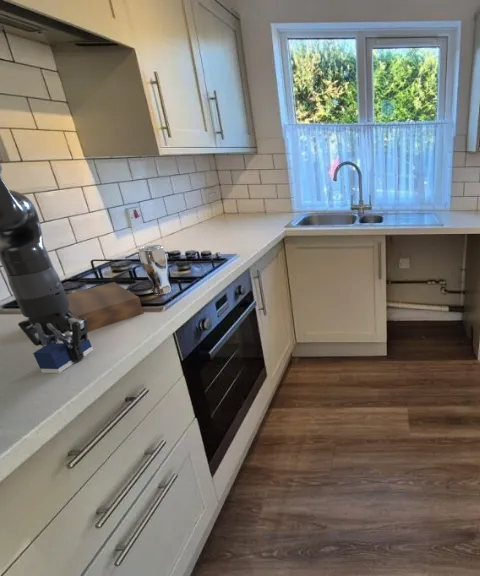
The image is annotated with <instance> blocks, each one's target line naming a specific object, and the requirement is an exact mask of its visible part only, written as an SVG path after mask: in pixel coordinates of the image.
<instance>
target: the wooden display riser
mask: <svg viewBox="0 0 480 576" xmlns="http://www.w3.org/2000/svg"><path fill="white" fill-rule="evenodd" d="M66 296H67V298H68V301H69V307H68V312H69V313H70V314H71V315H72V316H74V317H75V319H78V320H80V319H82V318H85V319H86V320H87V333H88V332H92V331H94V330H97V329H100V328H103V327H105V326H110V325H113V324H115V323H118V322H121V321H122V322H123V321H125V320H127V319H130V318H134V317H137V316H140V315H142V314H144V312H145V311H144V309H143V307H142V303H141V300H140V297H139V296H137V295H136V294H134V293H132V292H131V291H129V290H127V288H124V287H123V286H121V285H119V284H118V283H116V282H115V281H113V282H109V283H105V284H101V285H97V286H94V287H90V288H86V289H82V290H78V291H74V292H70V293H67V294H66Z"/></svg>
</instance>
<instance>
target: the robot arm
mask: <svg viewBox="0 0 480 576" xmlns="http://www.w3.org/2000/svg"><path fill="white" fill-rule="evenodd" d="M2 172H3V168H2V165H1V163H0V264H1V266H2V268H3V270H4V273H5V275H6V278H7V281H8V285H9V288H10V290H11V292H12V294H13V296H14V298H15V301H16V303H17V305H18V308H19V310H20V312H21V314H22V316H23V317H25V318H26V319H24V320H21V321H20V322H18V323H17V325H18V327H19V328H20V330H21V331H22V332H23V333H24V334H25V335H26V337H27V338H28V339H29V340H30V341H31V343H32V344H33V345H34V346H36V347H39V346H41V348H43V347H44V346H46V345H48V344H49V343H58V341H59V342H62V343H64V344H65V346H66V347H67V348H68V349H67V350H68V353H69V355H70V358H71V360H72V362H75V363H79V362H80V361H82V360H83V359H84V357H85V356H84V354H83V352H82V349H81V347H80V344H82V343H83V342H85V341H87V339H88V332H87V320H86V319H85V318H82V319H80V320H78V319H77V318H76V317H75V318H74V317H73V314H72V313H71V312H68V307H69V301H68V298H67V296H66V291H65V288H64V285H63V283H62V281H61V278H60V276H59V274H58V272H57V271H56V269H55V266H54V265H53V263H52V260H51V258H50V255H49V253H48V250H47V248H46V246H45V243H44V238H43V231H42V227H41V221H40V217H39V214H38V211H37V209H36V207H35V205H34V203H33V202H32V200H31V199H30V198H28V197H27V196H26V195H25V194H23V193H21V192H19V191H16V190H12V189H9V187H8V185H6V182H5V180H4V179H3V177H2V175H1V174H2ZM36 334H37V336H36ZM69 338H71V339H69ZM71 340H73V341H71Z"/></svg>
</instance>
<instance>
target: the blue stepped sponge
mask: <svg viewBox="0 0 480 576" xmlns="http://www.w3.org/2000/svg"><path fill="white" fill-rule="evenodd" d="M70 341H73V340H72V339H70ZM80 347H81V349H82V352H83V354H84V357H85V356H87V355H88V354H90V353H91V352H92V351H94V349H93V346H92V344H91V340H90V338H87V341H85V342H83V343H82V344H80ZM67 349H68V348H67V347H66V346H65V344H64V343H63V342H57V343H49V344H48V345H46V346H44V347H41V348H39V349H37V350H36V351H34V352H33V353H32V354H33V355H34V358H35V360H36V362H37V365H38V367H39V369H40V371H41V373H43V374H61V373H62V372H63V371H64V370H66V369H67V368H69V367H71V366H72V365H73V364H75V363H76V362H72V360H71V358H70V355H69V353H68V350H67Z"/></svg>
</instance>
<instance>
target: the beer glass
mask: <svg viewBox="0 0 480 576" xmlns="http://www.w3.org/2000/svg"><path fill="white" fill-rule="evenodd" d="M137 251H138V255H139V260H140V263H141V266H142V269H143V272H144V273H145V274H146V277H147V279H148V281H149V283H150V288H151V292H152V291H153V292H154V293H155V294H158V295H159V294H166V295H168V294H167V293H169V294H171V293H173V292H174V287H173V285H172V283H171V279H170V274H169V272H170V271H169V263H168V258H167V255H166V251H165V250H164V247H163V245H162V244H151V245H145V246H141V247H139V248H138V249H137ZM172 291H173V292H172ZM170 292H171V293H170Z"/></svg>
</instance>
